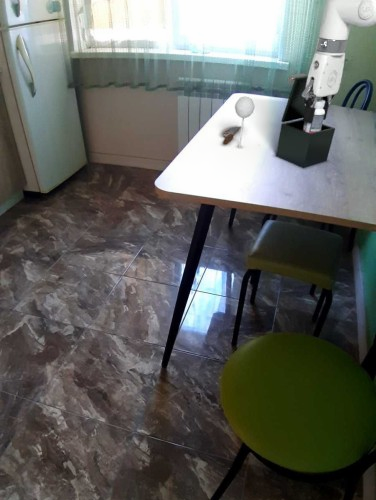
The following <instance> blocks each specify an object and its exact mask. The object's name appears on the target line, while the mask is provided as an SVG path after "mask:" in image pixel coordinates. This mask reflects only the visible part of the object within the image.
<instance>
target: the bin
mask: <svg viewBox="0 0 376 500" xmlns="http://www.w3.org/2000/svg"><path fill="white" fill-rule="evenodd" d="M303 126H304V121H303V118H301V119H296V120H292V121H288V122H282V123H281V125H280V130H279V131H280V132H279V137H278V142H277V148H276V153H275V157H276V158H279V159H281V160H283V161H285V162H288V163H290V164H293V165H294V166H297V167H299V168H302V169H305V168H309V167H312V166H315V165H318V164H321V163H324V162H327V161H328V158H329V154H330V150H331V145H332V142H333V139H334V136H335V131H336V127H333V126H329V125H327V124H324V123H322V127H321V131H318V132H314V133H309V132H306V131H303Z"/></svg>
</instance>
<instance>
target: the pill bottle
mask: <svg viewBox="0 0 376 500" xmlns="http://www.w3.org/2000/svg"><path fill="white" fill-rule="evenodd" d="M312 101H313V99H312ZM324 104H325V101H324V100H321V98H318V99H317V102H316V104H315V107H314V108H316V109H315V113H314V118H313V122H312V123H308V122H305V121H304V126H303V131H306V132H309V133H314V132H318V131H321V127H322V124H324V123H323V122H324V120H323V119H324V114H325V110H324V109H323V107H324Z"/></svg>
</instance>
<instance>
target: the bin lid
mask: <svg viewBox="0 0 376 500" xmlns="http://www.w3.org/2000/svg"><path fill="white" fill-rule="evenodd" d="M307 78H308V75H306V74H305V73H298V74H291V75H289V76H288V77H287V83H288V84H292V87H291V90H290V94H289V97H288V99H287V102H286V105H285V107H284V111H283V114H282V117H281V121H280V122H281V123H287V122H292V121H296V120H300V119H303V117H304V112H305V107H306V106H305V102H304V99H303V97H302V93H303V92H304V90H305V88H306V83H307ZM313 95H314V93H313ZM311 99H314V97H311Z"/></svg>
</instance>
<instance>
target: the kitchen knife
mask: <svg viewBox="0 0 376 500" xmlns="http://www.w3.org/2000/svg"><path fill="white" fill-rule="evenodd" d="M240 129H241V126H234V127H231V128H229V129H226V130H224V131H223V132H222V136H223V137H225V138H224V139H223V144H224V145H227V144H229V143H230V142H231V141H232V140H233V139H234V135H236V133H237V132H238V131H239V130H240Z"/></svg>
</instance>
